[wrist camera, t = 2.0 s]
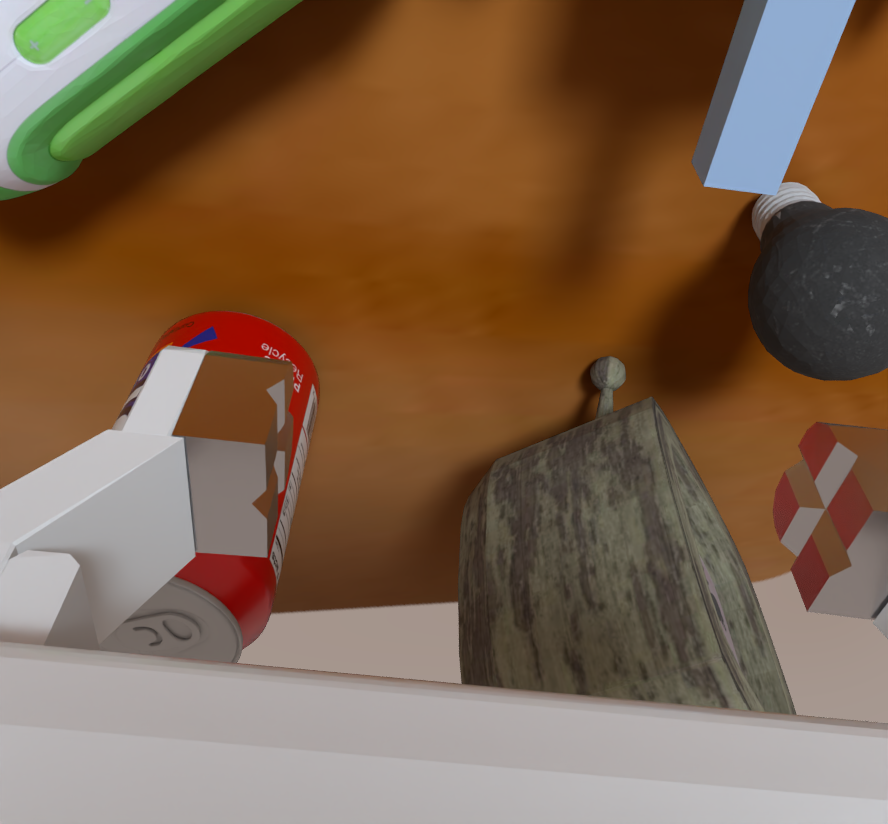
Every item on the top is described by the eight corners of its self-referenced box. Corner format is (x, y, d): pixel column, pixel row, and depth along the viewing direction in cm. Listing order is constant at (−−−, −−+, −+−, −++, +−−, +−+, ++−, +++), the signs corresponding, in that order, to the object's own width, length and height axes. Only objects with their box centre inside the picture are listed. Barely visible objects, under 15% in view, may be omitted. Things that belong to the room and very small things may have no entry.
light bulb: (676, 217, 34) (736, 363, 26) (784, 103, 31) (888, 230, 23) (771, 286, 36) (853, 441, 28) (882, 185, 33) (1008, 328, 25)
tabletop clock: (730, 513, 45) (927, 1111, 25) (576, 565, 48) (647, 1134, 28) (625, 315, 37) (794, 964, 18) (449, 394, 40) (429, 1018, 21)
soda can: (349, 411, 41) (300, 682, 29) (208, 446, 42) (109, 716, 31) (278, 278, 36) (186, 539, 24) (123, 325, 38) (-30, 588, 26)
